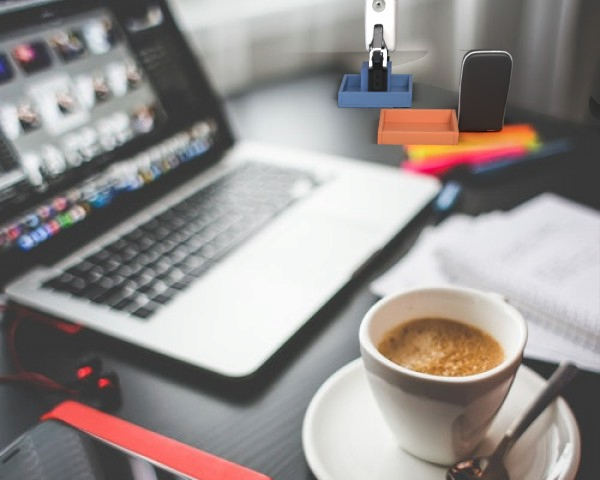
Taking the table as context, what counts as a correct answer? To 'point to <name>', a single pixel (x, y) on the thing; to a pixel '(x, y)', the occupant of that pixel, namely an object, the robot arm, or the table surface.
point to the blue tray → (375, 93)
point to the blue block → (365, 76)
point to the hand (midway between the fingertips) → (378, 85)
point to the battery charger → (484, 89)
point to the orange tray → (418, 127)
